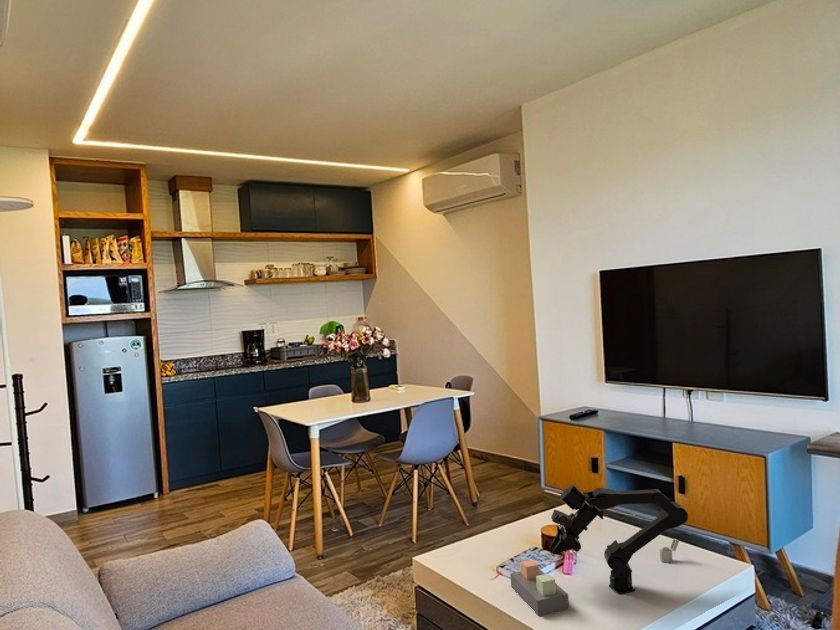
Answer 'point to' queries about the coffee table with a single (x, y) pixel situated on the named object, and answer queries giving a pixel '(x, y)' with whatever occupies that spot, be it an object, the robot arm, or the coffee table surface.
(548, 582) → the sage key
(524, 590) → the keypad
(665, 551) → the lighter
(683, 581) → the coffee table surface
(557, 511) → the robot arm
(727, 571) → the coffee table surface
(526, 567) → the terracotta key
